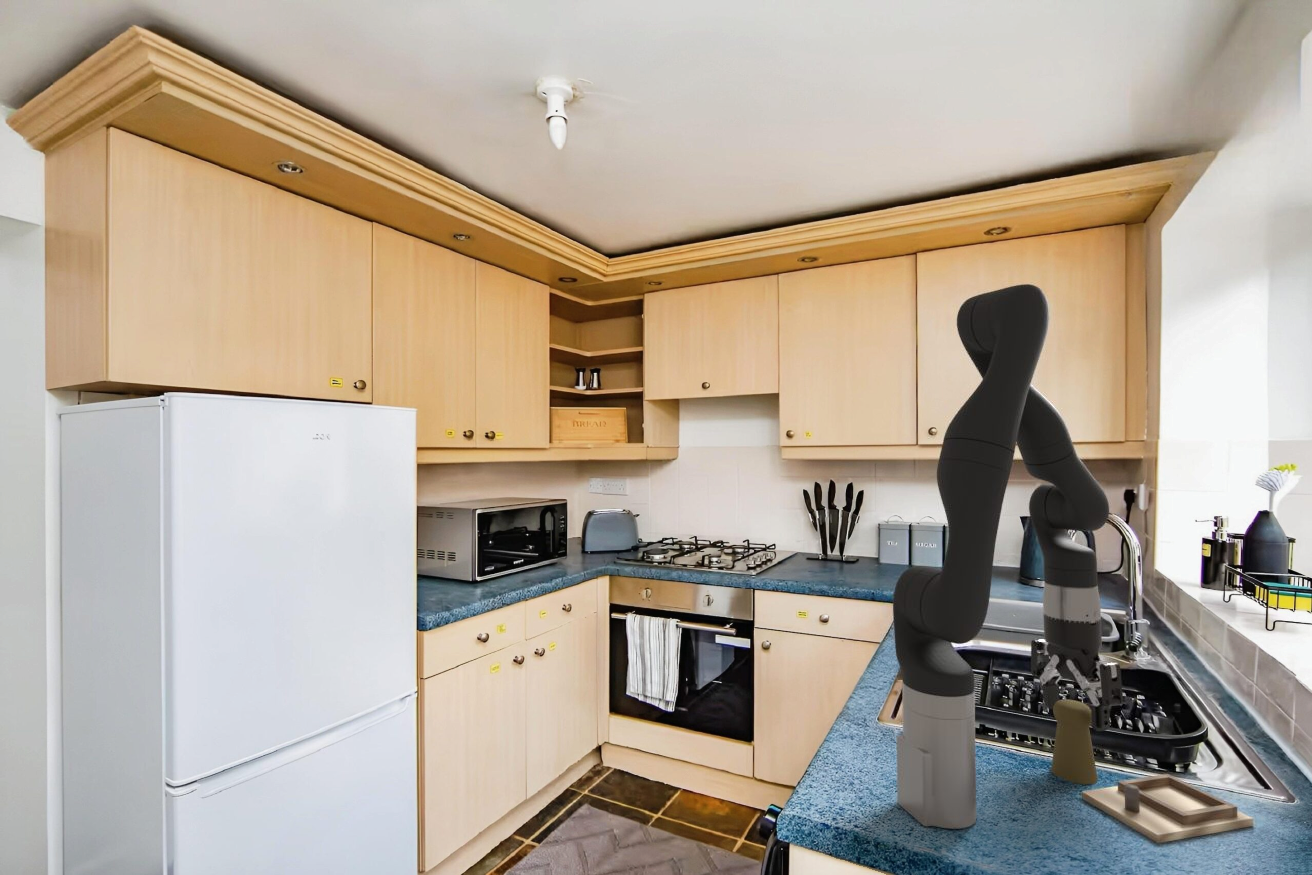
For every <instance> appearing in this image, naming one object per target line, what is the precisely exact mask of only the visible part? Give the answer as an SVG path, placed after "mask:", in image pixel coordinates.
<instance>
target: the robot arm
mask: <svg viewBox="0 0 1312 875" xmlns="http://www.w3.org/2000/svg"><path fill="white" fill-rule="evenodd" d="M1049 305H1050V304H1049V301H1048V298H1047V295H1046V294H1045V293H1044V291H1043V290H1042V289H1041V288H1040V287H1039V286H1037V285H1034V284H1029V283H1026V284H1024V283H1023V284H1016V285H1011V286H1006V287H1004V288H1001V289H996V290H993V291H989V292H984V293H981V294H978V295H974V296H971V297H970V298H968V299H966V300H965V301H964V302H963V303H962V304H961V306H959V309H958V312H957V315H956V328H957V333H958V336H959V338H960V341H961V344H962V345H963V347H964V349H965V351H966V353H967V355H968V357H969V358H970V359H971V361H972V363H973V365H974V366H975V368H976V370H977V371H978V373H979V374H980V377H981V378H982V380H981V381H980V383H979V385H977V388H976V389H975V390H974V392H973V393H972V394H971V395H970V396H969V397H968V399H966V401H965V402H964V403H963V405H962V406H961V407H960V408H959V410H958V411H957V413H956V414H955V415H954V417H953V419H952V420H951V421H950V423H949V424H948V426H947V428H946V431H945V433H944V437H943V440H942V441H943V442H942V446H941V450H940V454H939V458H938V462H937V466H936V482H937V486H938V487H937V488H938V492H939V496H940V499H941V503H942V506H943V509H944V511H945V517H946V521H947V527H948V528H947V529H948V539H947V547H946V553H945V557H944V562H943V565H942V569H941V568H936V567H933V566H926V565H913V566H911V567H909V568H908V569H906V570H904V571H903V572H902V573H901V575H900V576H899V578H898V580H897V582H896V583H895V587H894V592H893V597H892V599H893V600H892V616H893V632H894V633H893V634H894V649H895V656H896V660H897V663H898V664H899V668H900V670H901V681H902V682H901V684H902V685H901V686H902V688H901V689H902V690H901V691H902V693H901V694H902V734H899V735H897V736H896V773H897V774H896V780H897V781H896V783H897V784H896V786H897V787H896V789H897V790H896V792H897V794H896V796H897V797H896V798H897V800H896V801H897V804H898V805H899V806H900V807H901V808H903V809H904V811H906V812H907V813H908V814H909V815H911V817H913V818H914V819H915V820H916V821H918V822H919V823H920V824H921V825H922V826H923V827H938V828H943V829H949V830H950V829H951V830H955V829H956V830H957V829H959V830H961V829H966V828H969V827H971V826H972V825H975V823H976V821H977V772H976V769H977V768H976V767H977V765H976V764H977V763H976V762H977V760H976V704H975V703H976V701H975V694H976V693H975V691H976V690H975V674H974V670H973V668H972V667H971V665H970V664H969V663H968V662H967V661H966V660H965V659H963V658H962V657H961V655H960V654H959V653H958V652H957V651H956V649H955V647H954V646H953V644H956V645H957V644H958V645H961V644H967V643H969V642H971V641H972V640H974V639H975V638H976V637H977V635H978V634H979V632H981V630H982V628H983V626H984V624H985V621H986V618H987V615H988V609H989V606H990V605H989V603H990V597H991V596H990V595H991V586H992V578H993V569H994V568H993V567H994V557H995V549H996V542H997V535H998V531H999V526H1000V525H999V524H1000V519H1001V514H1002V508H1003V503H1004V499H1005V494H1006V490H1007V487H1008V483H1009V479H1010V475H1011V472H1012V466H1013V461H1014V457H1015V452H1016V446H1017V448H1018V451H1019V454H1020V456H1021V459H1022V461H1023V464H1024V466H1025V468H1026V470H1027V473H1028V474H1029V475H1030V476H1031V477H1033V478H1035V479H1038V480H1041V481H1044V482H1048V483H1044V484H1040V485H1039V486H1037V487H1036V488H1035V489H1034V490H1033V492H1032V494H1031V496H1030V498H1029V503H1028V512H1029V517H1030V520H1031V523H1032V527H1033V529H1034V532H1035V535H1036V537H1037V538H1036V539H1037V542H1038V544H1039V547H1040V550H1041V554H1042V557H1043V558H1042V559H1043V581H1044V582H1043V591H1042V607H1043V608H1042V610H1043V611H1042V612H1043V613H1042V614H1043V616H1042V617H1043V637H1044V638H1040V639H1032V640H1031V642H1030V645H1031V646H1030V673H1031V675H1032V676H1033V677H1037V678H1038V679H1039V681H1040V683H1041V684H1042V701H1043V703H1044V708H1047V709H1048V710H1053V707H1054V704H1055V703H1056V702H1057V701H1059V700H1060V685H1059V684H1058V682H1059V681H1060V680H1061V678H1065V679H1070V680H1071V681H1072V682H1075V683H1078V685H1079V686H1080V688H1081V691H1084V692H1085V693H1086V695H1087V696H1088V697H1089V699H1090V701H1091V703H1092V704H1090V709H1091V719H1092V724H1091V729H1092V730H1093V731H1096V732H1105V731H1107V730H1108V729H1109V728H1110V725H1111V721H1110V720H1111V719H1110V717H1111V715H1110V709H1111V708H1110V707H1113V706H1121V705H1122V706H1123V704H1124V694H1123V683H1122V682H1123V681H1122V674H1121V673H1122V672H1121V671H1122V670H1121V665H1120V664H1119V663H1118V662H1106V661H1103V660H1101V658H1100V656H1099V655H1100V654H1099V650H1100V648H1102V645H1103V644H1102V643H1103V642H1102V641H1103V638H1102V614H1101V613H1102V611H1101V597H1100V593H1099V587H1098V584H1099V583H1098V562H1097V554H1096V552H1095V551H1094V550H1093V549H1092V548H1090V547H1088V546H1085V545H1082V544H1079V543H1077V542H1076V541H1074V540H1073V539H1072V538H1071V536H1070V533H1069V532H1068V531H1079V532H1095V531H1098V530H1099V529H1101V528H1103V527H1104V526H1105V524H1106V523H1107V521H1108V519H1109V516H1110V506H1109V505H1110V503H1109V500H1108V497H1107V495H1106V493H1105V491H1104V490H1103V487H1102V486H1101V485H1100V483H1099V482H1098V481H1097V479H1096V478H1095V477H1094V476H1093V474H1091V472H1090V470H1089V469H1088V467H1087V466H1086V465H1085V463H1084V462H1083V461H1082V460H1081V459H1080V458H1079V456H1078V455H1077V452H1076V449H1075V446H1074V444H1073V441H1072V438H1071V435H1070V432H1069V428H1068V427H1067V424H1066V422H1065V421H1064V419H1063V416H1062V415H1061V414H1060V412H1059V411H1058V409H1057V408H1056V407H1055V406H1054V405H1053V403H1051V402H1050V401H1049V400H1048V399H1047V398H1046V397H1045V396H1044V395H1043V394H1042V393H1041V392H1040V391H1039V390H1037V389H1036V388H1035V387H1034V385H1033V384H1032V380H1033V378H1034V375H1035V372H1036V369H1037V366H1038V362H1039V360H1040V357H1041V353H1042V351H1043V348H1044V344H1045V341H1046V339H1047V335H1048V332H1049V326H1050V315H1051V314H1050V306H1049ZM1091 680H1093V682H1089V681H1091Z"/></svg>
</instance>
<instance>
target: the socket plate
mask: <svg viewBox="0 0 1312 875" xmlns="http://www.w3.org/2000/svg"><path fill="white" fill-rule="evenodd" d="M1081 799H1082V800H1084V801H1086V802H1087V803H1088V804H1091V805H1093V806H1094V807H1096V808H1098V809H1100V810H1101V811H1103V812H1104V813H1106V814H1108V815H1109V816H1110V817H1113V818H1115V819H1116V820H1118V821H1119V822H1122V823H1123V824H1125V825H1127V826H1128V827H1130V828H1132V829H1133V830H1135V831H1137V832H1138V833H1140V834H1142V835H1144V836H1145V837H1147V838H1148V839H1149V840H1152V841H1154V842H1156V843H1158V844H1162V843H1167V842H1172V841H1177V840H1183V839H1189V838H1194V837H1198V836H1204V835H1205V836H1206V835H1210V834H1216V833H1221V832H1228V831H1232V830H1238V829H1244V828H1249V827H1254V818H1253V817H1251V816H1249V815H1247V814H1245V813H1243V812H1241V811H1239V810H1238V806H1237V805H1234V804H1232V803H1230V802H1228V801H1226V800H1224V799H1221V798H1220V797H1218V796H1216V795H1213V794H1211V793H1209V792H1207V791H1206V790H1205V791H1204V790H1203V789H1201V788H1198V787H1197V786H1195V785H1192V784H1190V783H1188V782H1186V781H1184V780H1182V779H1179V778H1178V777H1175V776H1174V775H1170V774H1169V773H1165V774H1159V775H1151V776H1147V777H1145V776H1144V777H1138V778H1131V779H1125V780H1118V781H1117V785H1115V786H1114V785H1113V786H1108V787H1101V788H1096V789H1089V790H1088V789H1087V790H1082V791H1081Z"/></svg>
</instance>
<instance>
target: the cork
mask: <svg viewBox="0 0 1312 875" xmlns="http://www.w3.org/2000/svg"><path fill="white" fill-rule="evenodd" d="M1052 713H1053V716H1054V718H1055V720H1056V723H1057V724H1056V730H1055V736H1054V738H1055V739H1054V745H1053V754H1052V761H1051V768H1050V770H1051V773H1052V774H1053V775H1054V776H1056V777H1058V778H1060V779H1062V780H1064V781H1067V782H1070V783H1073V784H1080V785H1093V784H1097V783H1098V781H1099V779H1098V773H1097V768H1096V767H1097V766H1096V760H1095V755H1094V750H1093V744H1092V737H1091V732H1090V727H1092V719H1091V707H1089V705H1087V704H1086V703H1084V702H1082V701H1078V700H1075V699H1065V698H1064V699H1059V701H1057V702H1056V703H1055V704H1054V707H1053V709H1052Z"/></svg>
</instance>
